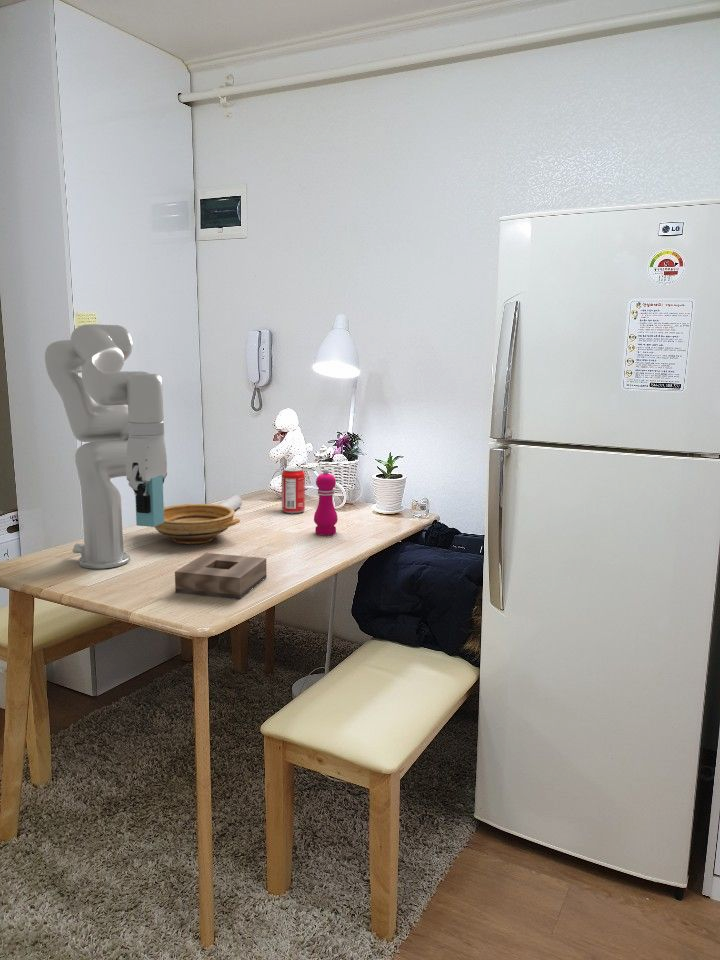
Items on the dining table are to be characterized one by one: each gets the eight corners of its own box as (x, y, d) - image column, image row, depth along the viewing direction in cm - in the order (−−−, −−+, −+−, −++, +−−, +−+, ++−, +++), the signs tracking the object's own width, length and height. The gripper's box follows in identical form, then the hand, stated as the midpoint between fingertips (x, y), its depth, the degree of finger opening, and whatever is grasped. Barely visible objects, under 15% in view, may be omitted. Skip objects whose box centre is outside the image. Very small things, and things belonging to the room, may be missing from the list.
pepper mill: (323, 537, 217) (324, 471, 214) (309, 532, 222) (309, 468, 219) (342, 533, 222) (342, 468, 218) (327, 528, 227) (327, 465, 224)
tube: (227, 495, 257) (203, 510, 232) (241, 491, 256) (218, 505, 232) (232, 509, 258) (209, 526, 233) (246, 505, 257) (224, 521, 232)
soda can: (285, 515, 245) (285, 471, 242) (279, 510, 252) (278, 467, 249) (307, 513, 248) (307, 470, 245) (300, 508, 255) (300, 466, 252)
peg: (136, 525, 164) (134, 477, 162) (147, 521, 168) (145, 474, 166) (154, 527, 162) (152, 478, 160) (164, 522, 167) (162, 475, 165)
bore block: (175, 592, 167) (174, 571, 166) (206, 572, 182) (206, 552, 182) (240, 599, 163) (239, 577, 162) (266, 577, 179) (266, 558, 178)
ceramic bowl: (257, 533, 220) (257, 507, 219) (217, 554, 198) (217, 526, 196) (172, 525, 229) (171, 500, 228) (125, 544, 207) (124, 516, 205)
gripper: (151, 425, 170) (154, 501, 173) (109, 433, 154) (113, 517, 157) (180, 426, 168) (183, 503, 172) (140, 434, 152) (144, 519, 156)
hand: (149, 509), depth 164 cm, fingers closed on peg, 4 cm apart
